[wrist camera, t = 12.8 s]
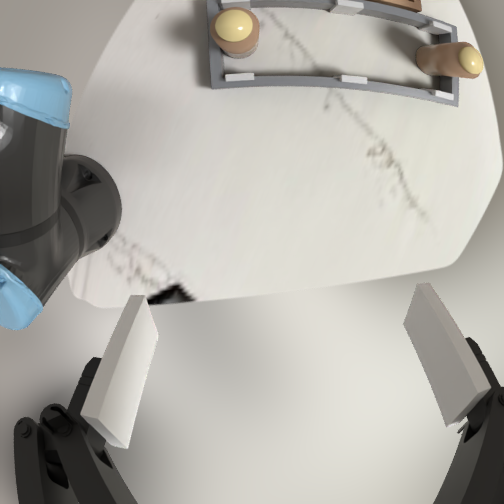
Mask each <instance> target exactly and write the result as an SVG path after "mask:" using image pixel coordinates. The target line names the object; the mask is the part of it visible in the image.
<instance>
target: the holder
mask: <svg viewBox="0 0 504 504" xmlns="http://www.w3.org/2000/svg"><path fill="white" fill-rule="evenodd" d="M230 7H241V8H245V9H247V10H250V8H258V7H289V8H310V9H323V10H330V13H338V14H346V15H355V14H361V15H367V16H373V17H378V18H383V19H387V20H392V21H396V22H400V23H404V24H408V25H412V26H416V27H418V29H419V30H422V31H425V32H429V33H432V34H435V35H438V34H439V44H443V43H454V42H458V38H457V27H456V26H453V25H451V24H448V23H445V22H443V21H440V20H437V19H434V18H431V17H428V16H425V15H422V14H419V13H415V12H412V11H408V10H405V9H401V8H397V7H393V6H389V5H384V4H380V3H375V2H370V1H365V0H207V18H208V38H209V55H210V72H211V87H212V89H226V88H240V87H263V86H306V87H329V88H343V89H355V90H364V91H373V92H381V93H388V94H395V95H401V96H407V97H413V98H418V99H423V100H428V101H433V102H437V103H442V104H446V105H451V106H455V107H458V101H459V77H449V76H440V91H438V90H432V89H424V88H420V89H415V88H410V87H405V86H399V85H393V84H387V83H380V82H373V81H367V77H359V76H349V75H336V76H333V77H316V76H254V73H240V74H226V75H225V76H226V78H224V62H223V50H222V49H221V48H220V46H219V45H218V44H217V43H216V42H215V40H214V39H213V38H212V36H211V33H210V24H211V21H212V19H213V18H214V16H215V15H216V14H217V13H219V12H220V11H221V10H224V9H226V8H230Z"/></svg>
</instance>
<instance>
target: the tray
mask: <svg viewBox="0 0 504 504" xmlns="http://www.w3.org/2000/svg"><path fill="white" fill-rule="evenodd" d="M365 1H370V2H375V3H380V4H384V5H389V6H393V7H397V8H401V9H405V10H408V11H412V12H415V13H417V12H420V11H422V8H421V0H365Z"/></svg>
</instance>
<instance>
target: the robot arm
mask: <svg viewBox="0 0 504 504" xmlns="http://www.w3.org/2000/svg"><path fill="white" fill-rule="evenodd" d="M71 98H72V87H71V85H70V83H69V81H68V80H67V79H66V78H64V77H62V76H59V75H56V74H50V73H45V72H39V71H32V70H23V69H14V68H1V67H0V325H1V326H3V327H5V328H8V329H11V330H20V329H24V328H26V327H28V326H29V325H30V323H31V322H32V321H33V320H34V319H35V318H36V317H37V315H38V314H39V313H41V312H42V310H43V306H44V305H45V303H46V302H47V301H48V299H49V298H50V296H51V295H52V293H53V292H54V291H55V289H56V288H57V287H58V285H59V284H60V283H61V281H62V280H63V279H64V277H65V276H66V275H67V273H68V272H69V271H70V270H71V268H72V267H73V266H74V264H75V263H76V262H77V261H78V259H80V258H82V257H84V256H86V255H88V254H91V253H93V252H95V251H97V250H99V249H101V248H102V247H103V246H104V245H106V244H107V243H108V241H109V240H110V239H111V238H112V236H113V235H114V234H115V232H116V231H117V229H118V226H119V224H120V220H121V213H122V207H121V199H120V195H119V192H118V189H117V186H116V184H115V182H114V181H113V179H112V177H111V176H110V174H109V173H108V172H107V171H106V170H105V169H104V168H103V167H102V166H101V165H100V164H99V163H97V162H96V161H94V160H92V159H90V158H88V157H85V156H80V155H70V156H66V157H64V150H65V143H66V136H67V130H68V129H69V127H70V123H69V122H68V121H69V111H70V104H71ZM403 324H404V327H405V329H406V331H407V333H408V335H409V337H410V339H411V341H412V344H413V345H414V348H415V350H416V352H417V355H418V357H419V359H420V361H421V363H422V366H423V368H424V371H425V373H426V375H427V378H428V380H429V383H430V385H431V388H432V390H433V393H434V395H435V398H436V400H437V403H438V405H439V408H440V411H441V413H442V416H443V419H444V422H445V425H446V427H449V426H452V425H455V424H457V423H460V422H461V421H462V420H463V419H464V417H466V416H467V419H468V421H467V422H466V423H465V424H464V425H463V426H462V427H461V428H460V429H459V430H458V432H457V433H460V432H461V431H462V430H463V429H464V430H463V433H462V437H461V439H460V442H459V445H458V448H457V450H456V453H455V456H454V459H453V461H452V464H451V466H450V468H449V471H448V473H447V475H446V478H445V480H444V482H443V485H442V487H441V489H440V491H439V493H438V495H437V497H436V499H435V501H434V503H433V504H504V387H501V386H500V384H499V383H498V381H497V379H496V377H495V375H494V373H493V371H492V369H491V368H490V366H489V364H488V362H487V361H486V358H485V356H484V355H483V354H482V351H481V350H480V348H479V346H478V344H477V343H476V342H475V341H474V340H472V339H471V338H470V337H468V338H464V336H463V334H462V333H461V331H460V329H459V328H458V326H457V324H456V323H455V321H454V319H453V318H452V316H451V315H450V313H449V312H448V310H447V309H446V307H445V305H444V304H443V302H442V301H441V300H440V298H439V296H438V295H437V293H436V292H435V290H434V289H433V287H432V286H431V284H430V283H422V284H417V286H416V290H415V292H414V295H413V298H412V301H411V304H410V307H409V310H408V313H407V315H406V318H405V321H404V323H403ZM158 337H159V334H158V331H157V329H156V326H155V323H154V320H153V317H152V315H151V312H150V309H149V306H148V303H147V300H146V297H145V295H131V296H130V298H129V300H128V302H127V304H126V306H125V308H124V310H123V313H122V315H121V317H120V319H119V321H118V323H117V326H116V328H115V330H114V332H113V335H112V337H111V339H110V342H109V343H108V346H107V348H106V350H105V353H104V355H103V357H102V358H96V357H93V358H92V359H91V360H90V361H89V362H88V363H87V365H86V366H85V368H84V370H83V373H82V377H81V378H80V380H79V382H78V385H77V387H76V390H75V392H74V394H73V397H72V399H71V402H70V404H69V407H68V409H67V410H66V409H65V408H64V407H63V406H62V405H60V404H50V405H48V406H47V407H46V408H44V410H43V411H42V412H41V415H40V423H38V424H37V423H36V422H35V421H34V420H33V419H31V418H29V417H24V418H21V419H20V420H19V421H18V422H17V423H16V425H15V428H14V459H15V474H16V484H17V493H18V500H19V504H78V502H79V504H137V502H136V500H135V499H134V497H133V495H132V494H131V492H130V491H129V489H128V487H127V486H126V484H125V482H124V481H123V479H122V477H121V475H120V474H119V472H118V470H117V468H116V466H115V465H114V463H113V461H112V459H111V457H110V455H109V453H108V451H107V450H106V448H105V447H104V445H105V442H106V441H107V442H108V443H110V444H111V445H112V446H116V447H121V448H126V449H128V446H129V442H130V438H131V434H132V430H133V426H134V422H135V418H136V414H137V410H138V406H139V402H140V398H141V395H142V391H143V388H144V384H145V381H146V377H147V374H148V370H149V367H150V363H151V360H152V357H153V353H154V350H155V346H156V343H157V340H158Z"/></svg>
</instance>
